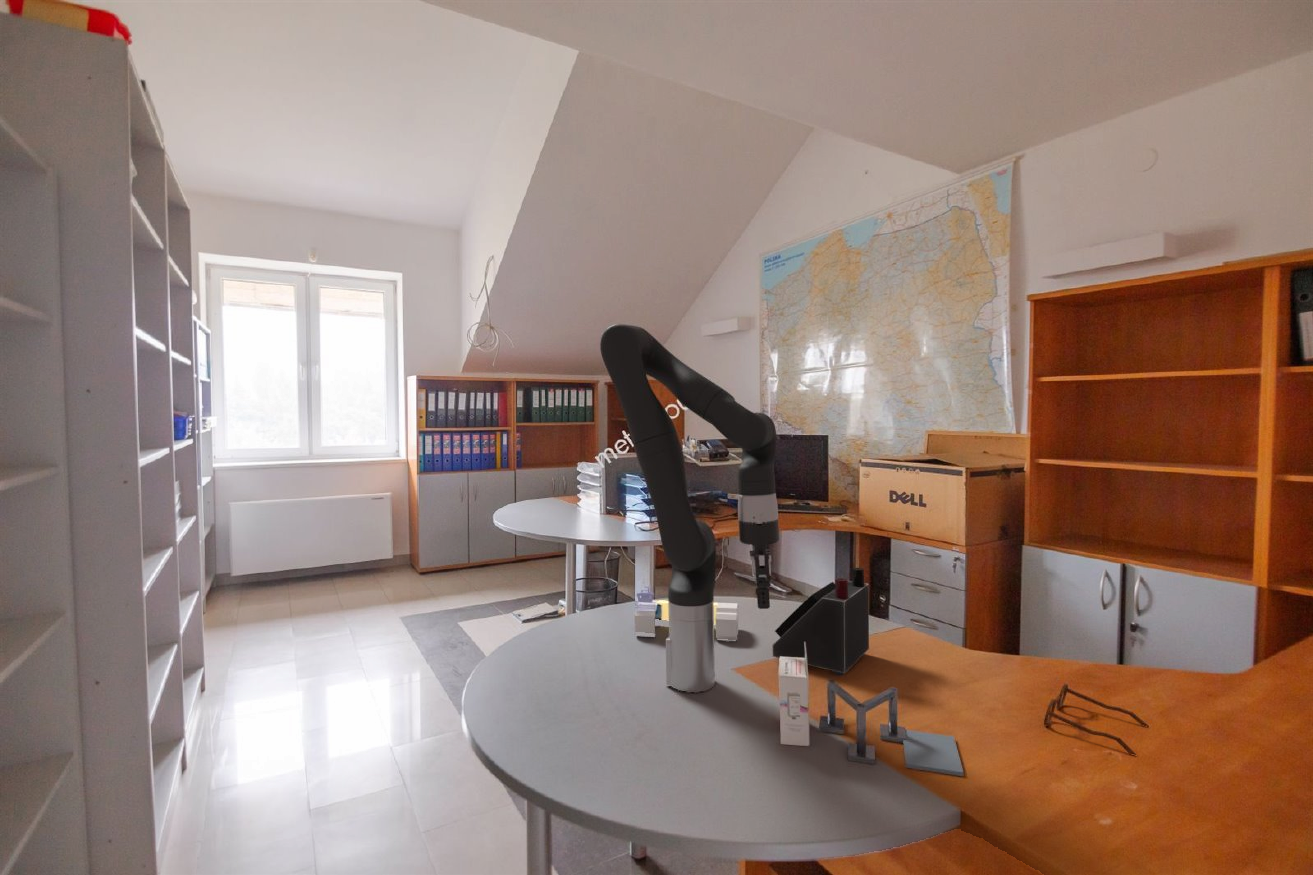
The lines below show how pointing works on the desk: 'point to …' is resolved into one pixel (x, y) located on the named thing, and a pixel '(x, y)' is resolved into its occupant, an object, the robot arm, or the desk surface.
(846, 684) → the desk surface
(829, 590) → the voltmeter
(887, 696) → the grey metal legged frame
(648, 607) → the diorama
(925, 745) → the pad
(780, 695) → the ink cartridge box
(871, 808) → the desk surface
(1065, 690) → the glasses
